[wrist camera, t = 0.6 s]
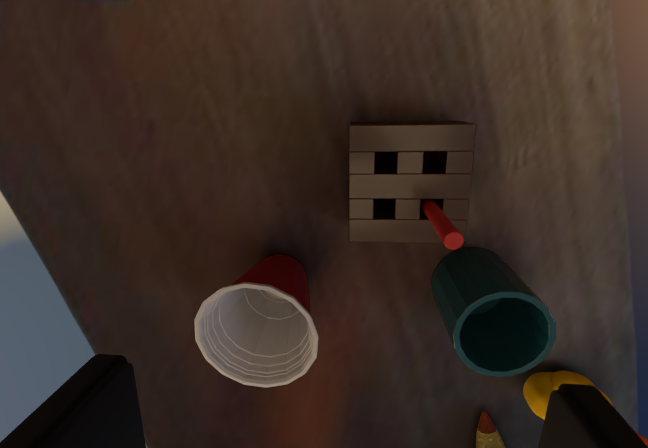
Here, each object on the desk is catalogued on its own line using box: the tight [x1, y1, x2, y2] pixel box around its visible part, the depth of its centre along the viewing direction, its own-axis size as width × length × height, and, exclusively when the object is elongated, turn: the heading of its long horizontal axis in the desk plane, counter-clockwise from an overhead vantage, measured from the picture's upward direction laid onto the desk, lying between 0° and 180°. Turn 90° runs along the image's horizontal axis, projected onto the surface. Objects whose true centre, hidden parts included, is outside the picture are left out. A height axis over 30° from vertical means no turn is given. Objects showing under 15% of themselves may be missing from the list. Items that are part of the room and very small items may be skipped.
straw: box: [420, 199, 464, 250], centre depth 32 cm, size 1×1×14 cm
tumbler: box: [431, 248, 556, 377], centre depth 36 cm, size 8×8×10 cm
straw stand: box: [349, 121, 477, 243], centre depth 35 cm, size 10×10×6 cm
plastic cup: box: [194, 254, 318, 388], centre depth 37 cm, size 11×11×12 cm
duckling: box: [523, 371, 648, 446], centre depth 39 cm, size 11×5×10 cm, turn 75°
